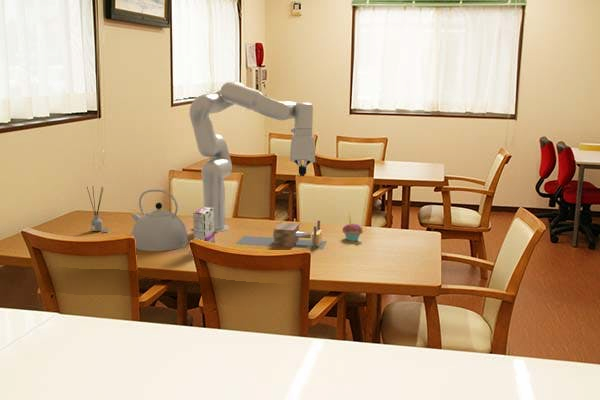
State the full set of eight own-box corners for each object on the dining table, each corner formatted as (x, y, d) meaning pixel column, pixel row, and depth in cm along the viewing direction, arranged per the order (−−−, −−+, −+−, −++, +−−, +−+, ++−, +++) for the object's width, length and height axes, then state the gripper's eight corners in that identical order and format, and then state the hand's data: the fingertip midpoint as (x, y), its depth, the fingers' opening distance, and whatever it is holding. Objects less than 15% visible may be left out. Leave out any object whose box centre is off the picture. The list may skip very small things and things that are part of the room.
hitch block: (274, 245, 266) (274, 224, 264) (280, 238, 277) (280, 217, 275) (315, 248, 263) (316, 226, 261) (319, 241, 274) (320, 220, 273)
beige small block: (311, 246, 265) (311, 234, 264) (314, 241, 273) (314, 229, 272) (318, 246, 264) (319, 234, 263) (321, 241, 272) (321, 229, 271)
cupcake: (348, 243, 273) (349, 215, 271) (338, 238, 281) (339, 211, 278) (366, 241, 277) (367, 214, 275) (355, 236, 285) (356, 210, 282)
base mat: (235, 245, 268) (235, 243, 268) (243, 237, 280) (243, 235, 280) (322, 250, 262) (322, 249, 262) (326, 242, 274) (327, 241, 274)
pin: (273, 240, 269) (273, 229, 268) (275, 237, 273) (275, 226, 273) (309, 242, 267) (309, 231, 266) (311, 239, 271) (311, 228, 270)
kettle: (114, 246, 263) (112, 191, 258) (147, 233, 283) (145, 182, 279) (168, 253, 254) (167, 196, 249) (197, 240, 275) (197, 187, 270)
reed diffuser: (84, 231, 285) (82, 186, 281) (94, 227, 291) (92, 183, 287) (104, 233, 282) (103, 188, 278) (114, 230, 288) (112, 185, 284)
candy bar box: (203, 246, 265) (202, 206, 262) (214, 247, 264) (214, 207, 261) (193, 253, 254) (192, 212, 251) (205, 254, 253) (205, 213, 250)
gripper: (284, 132, 270) (283, 176, 274) (319, 133, 268) (318, 178, 272) (287, 130, 278) (286, 173, 281) (322, 132, 275) (321, 175, 279)
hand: (302, 175), depth 276 cm, fingers closed
